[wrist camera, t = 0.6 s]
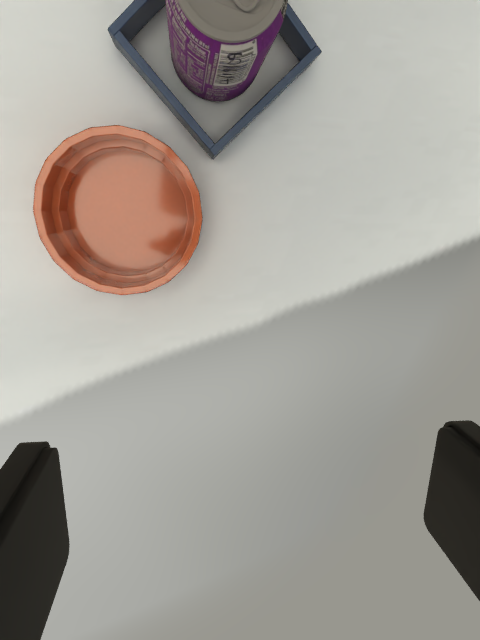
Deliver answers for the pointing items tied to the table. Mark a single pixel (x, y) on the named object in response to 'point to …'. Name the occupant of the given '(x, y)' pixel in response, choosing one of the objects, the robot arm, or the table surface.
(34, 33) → the table surface
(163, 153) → the bowl
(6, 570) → the robot arm
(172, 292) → the table surface
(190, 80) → the beverage can
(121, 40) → the blue square frame
